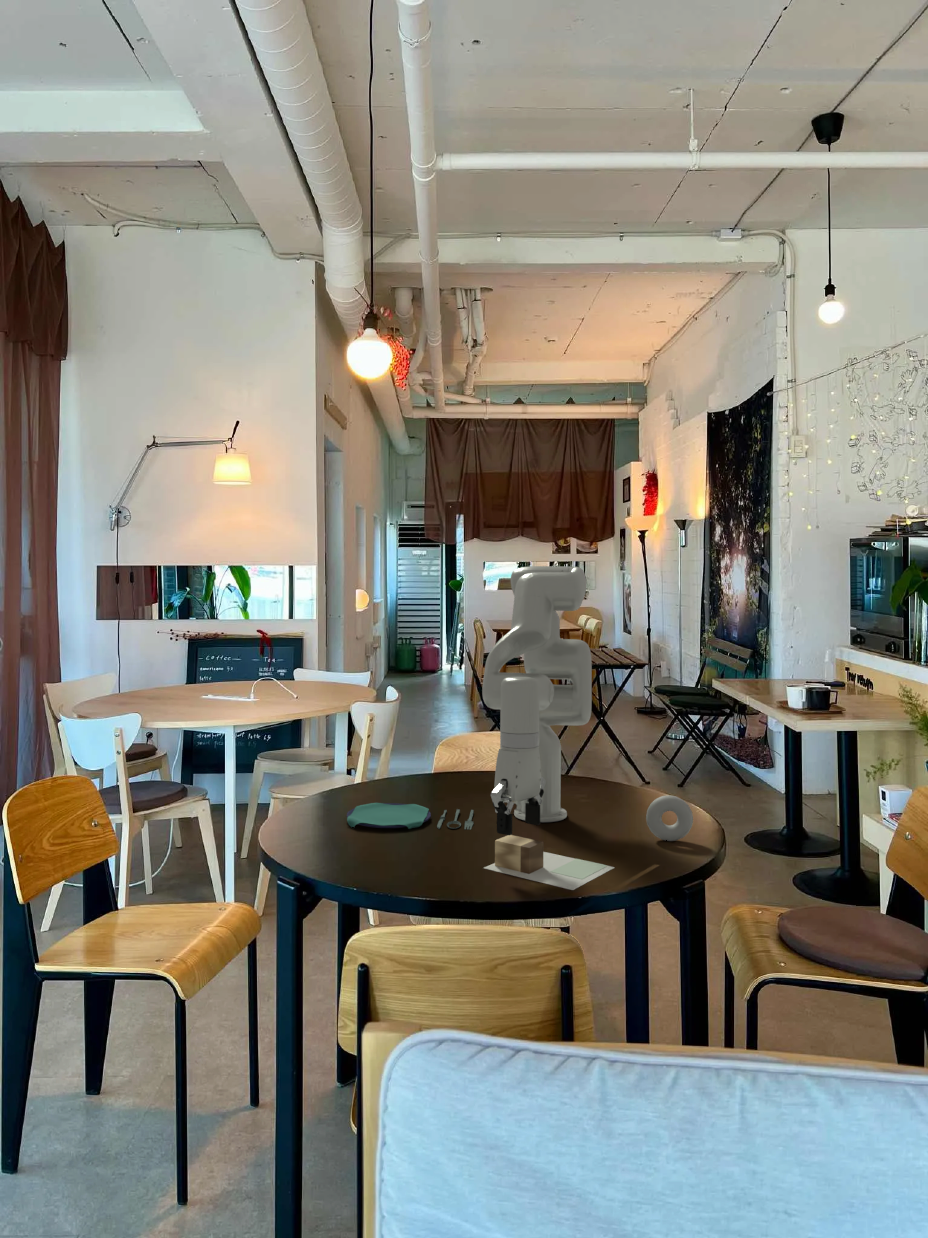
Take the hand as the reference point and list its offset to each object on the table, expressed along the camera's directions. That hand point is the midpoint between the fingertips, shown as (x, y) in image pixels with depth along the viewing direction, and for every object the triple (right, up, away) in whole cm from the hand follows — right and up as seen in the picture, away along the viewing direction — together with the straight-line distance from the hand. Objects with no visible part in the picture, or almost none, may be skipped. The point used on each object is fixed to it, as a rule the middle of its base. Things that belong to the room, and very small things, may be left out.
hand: (518, 829), depth 171 cm
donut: (+34, -8, +20) cm, 40 cm away
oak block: (0, -8, +1) cm, 8 cm away
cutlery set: (-23, -7, +36) cm, 44 cm away
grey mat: (+6, -8, 0) cm, 10 cm away
